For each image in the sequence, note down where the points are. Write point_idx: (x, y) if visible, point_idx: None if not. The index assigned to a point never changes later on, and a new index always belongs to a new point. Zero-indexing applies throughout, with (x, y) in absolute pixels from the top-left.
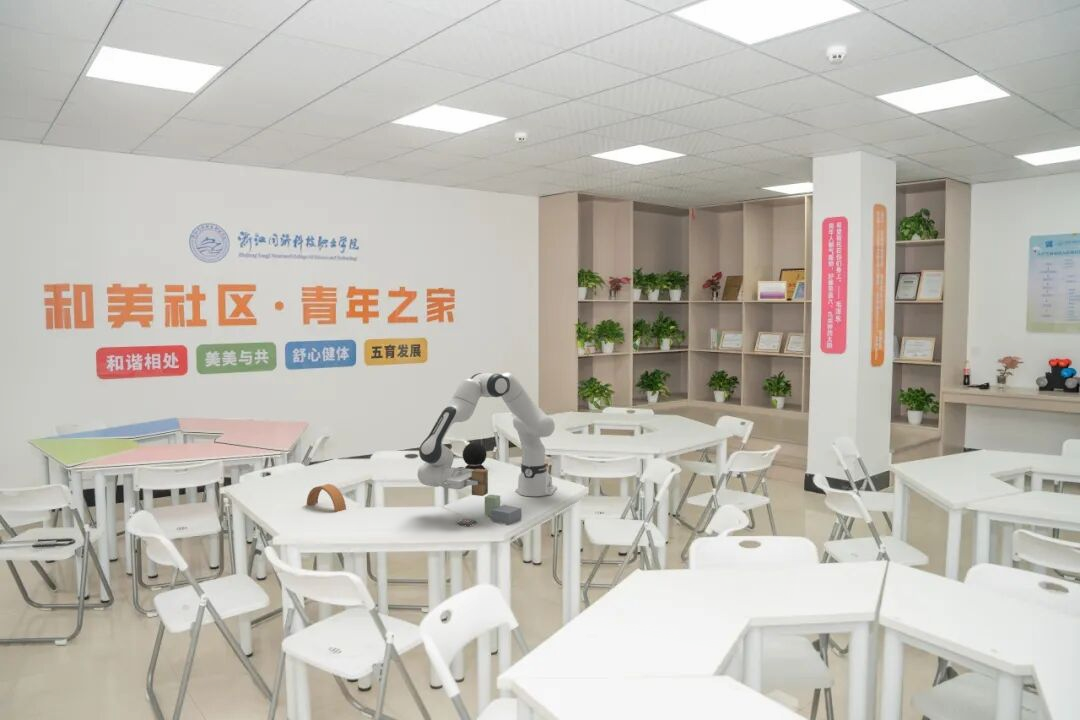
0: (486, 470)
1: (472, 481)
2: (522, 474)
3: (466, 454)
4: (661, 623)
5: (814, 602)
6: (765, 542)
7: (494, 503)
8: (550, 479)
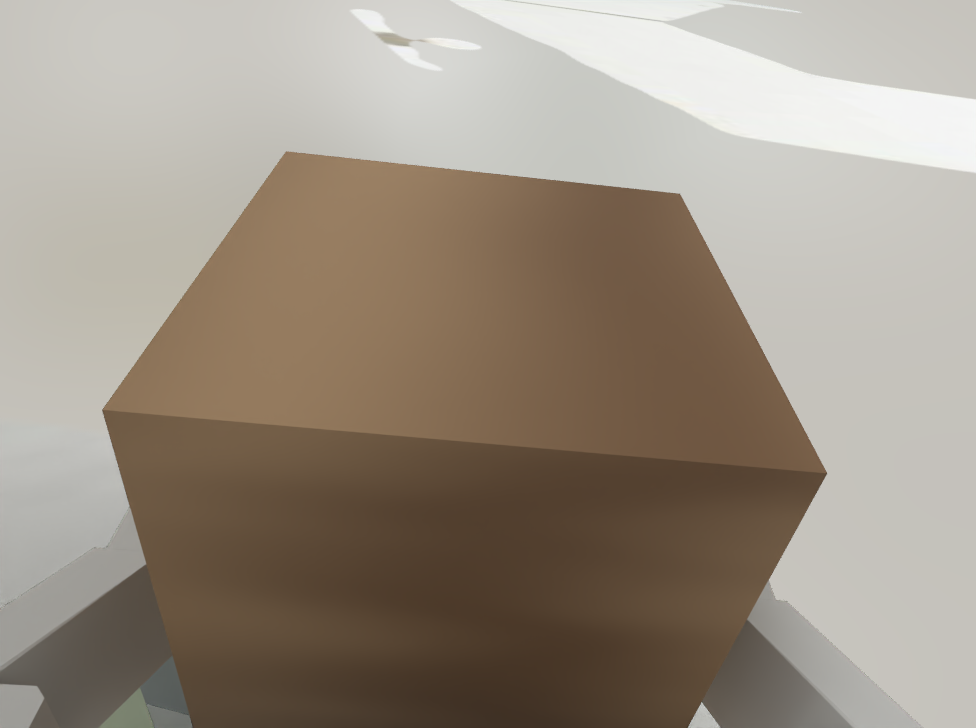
0: (381, 165)
1: (802, 632)
2: None
3: None
4: (966, 128)
5: (680, 40)
6: (374, 28)
7: (140, 711)
8: None
